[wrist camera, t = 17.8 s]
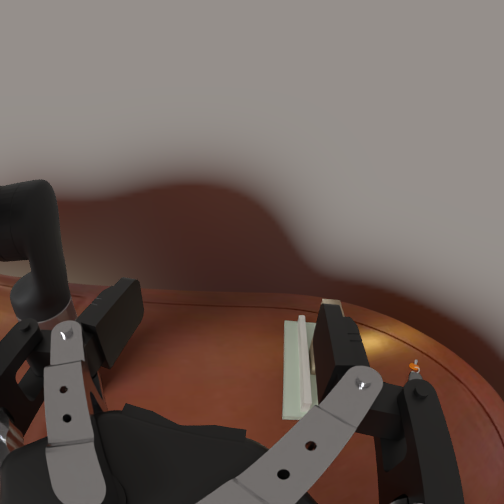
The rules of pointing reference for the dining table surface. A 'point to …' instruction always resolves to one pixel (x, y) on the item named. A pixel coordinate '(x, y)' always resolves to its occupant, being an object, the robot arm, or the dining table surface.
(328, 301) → the beige tall block
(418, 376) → the key chain
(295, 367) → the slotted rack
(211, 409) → the dining table surface
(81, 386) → the robot arm
